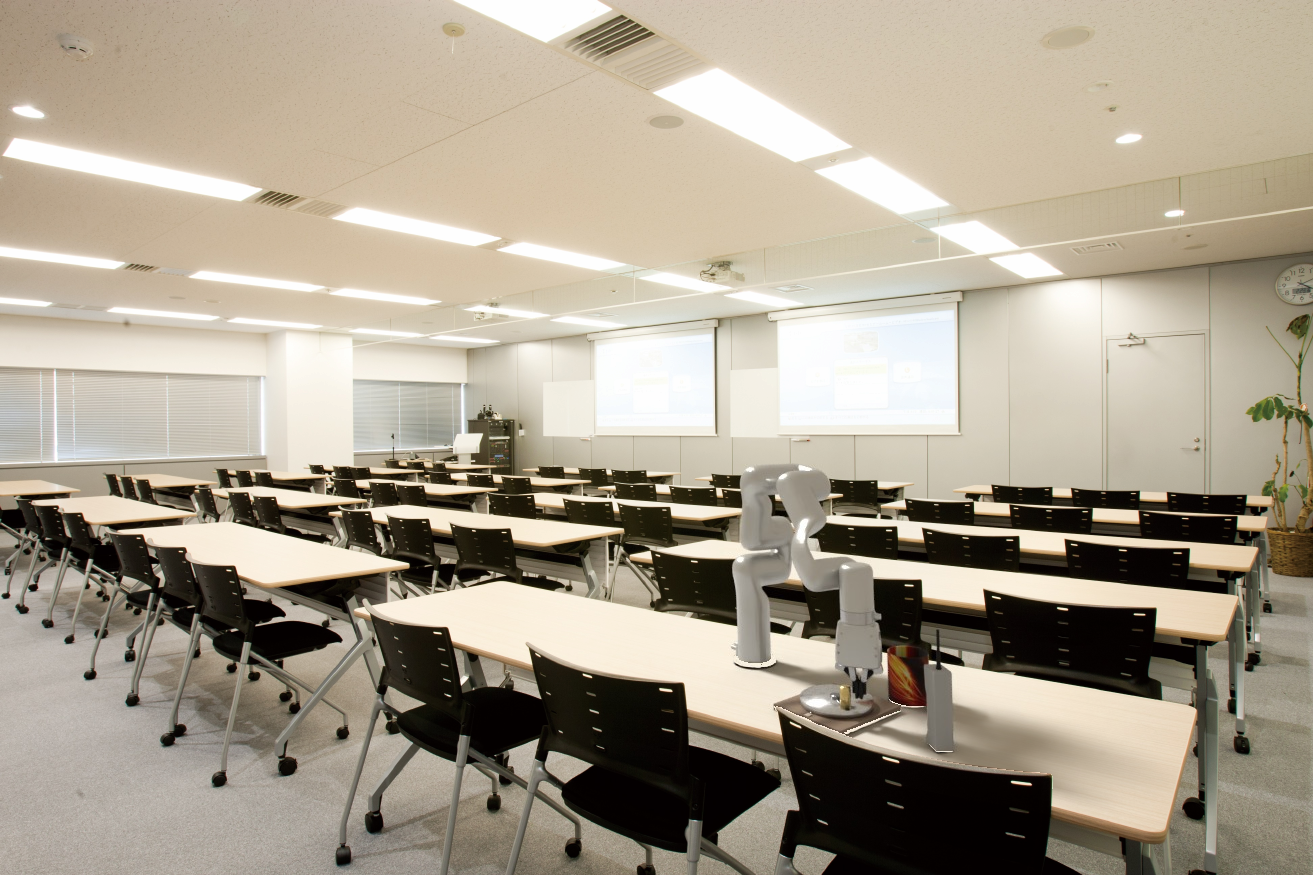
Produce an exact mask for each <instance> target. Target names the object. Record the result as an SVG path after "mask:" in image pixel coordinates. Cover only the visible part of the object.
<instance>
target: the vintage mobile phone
mask: <svg viewBox="0 0 1313 875" xmlns="http://www.w3.org/2000/svg"><path fill="white" fill-rule="evenodd" d="M935 632H936V633H935V634H936V635H935V639H936V643H935V644H936V653H935V655H936V658H935V659H936V660H935V662H936V663H932V664H931V663H929V664H925V665H924V676H925V689H926V694H927V706H926V721H927V724H926V725H927V728H926V729H927V730H926V735H925V742H926V744H927V743H928V744H930V745H931V746H932V747H933V748H934V749H935V750H936V751H954V752H955V750H954V749H955V744H954V742H955V741H954V738H955V737H954V706H953V705H954V704H953V673H952V671H951V670H949V669H948V668H946V666H944V665H943V664H941V663H942V660H941V657H942V656H941V647H940V646H941V643H940V642H941V641H940V629H935ZM928 744H927V745H928Z"/></svg>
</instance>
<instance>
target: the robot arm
mask: <svg viewBox="0 0 1313 875" xmlns="http://www.w3.org/2000/svg"><path fill="white" fill-rule="evenodd" d="M739 489H740V494H741V501H742V505H741V506H742V507H741V520H740V532H739V535H740V538H739V539H740V544H741V547H742V548H743V549H745V550H746V551H750V552H751V551H752V553H746V554H745V553H744V554H742V555H740V556H738V557H736V558H735V559H734V560H733V562H732V565H731V566H732V567H731V568H732V577H733V580H734V581H733V582H734V586H735V595H736V596H735V597H736V598H735V599H736V619H737V620H736V623H737V640H735V641H734V642H733V644H731V646H730V649H731V650H733V651H735V655H736V656H738V658H739V660H741V661H744V662H748V663H763V662H767V661H769V660H770V659H771V654H772V650H771V649H772V648H771V647H772V646H771V613H770V612H771V611H770V605H771V604H770V600H769V598H768V595H767V593H766V592H765V591H764V590H763V587H764V586H769V585H777V584H783V583H785V582H787V581H788V580H789V578H790V576H791V573H792V567H793V566H794V569H795V571H796V573H797V575H798V578H799V579H800V582H801V583H802V585H803V586H805V588H807V590H808V591H811V592H815V593H818V592H826V591H833V590H839V611H840V612H839V613H840V619H839V620H837V625H836V631H835V632H836V633H835V648H834V650H835V651H834V652H835V655H834V658H835V663H834V664H835V665H834V669H835V670H836V671H837V670H838V671H840V672H844V673H845V674H846V675H847V677H849V678H850V680H851V687H852V693H854V694H855V699H858V698H859V699H862V700H863V697H864V695H866V693H868V692H867V690H868V689H867V681H868V680H869V679H870V678H872V676H875V675H882V674H883V673H884V668H883V667H884V666H883V664H882V663H883V648H882V638H881V637H882V636H881V630H880V625H879V623H878V622H876V621H878V620H879V621H881V620H882V614H881V613H878V612H876V610H875V600H874V599H875V598H874V597H875V594H874V593H875V592H874V571H873V567H872V566H871V565H870V564H868V563H865V562H861V561H856V560H854V559H853V558H850V557H848V556H835V557H824V558H817V559H815V558H814V556H813V554H812V553H811V550H810V548H809V544H808V538H809V537H811V536H813V535H815V534H816V533H818V532H819V531H820V530H821V529H823V527H825V525H826V524H827V520H828V518H827V515H826V513H825V511H824V509H823V507H822V505H821V503H820V502H821V501H824V500H827V499H828V498H829V497H830V494H831V490H832V486H831V482H830V479H829V477H828V476H827V475H826V473H824V472H823V471H822V470H820V469H818V468H814V467H810V466H807V465H803V464H799V463H780V464H779V463H778V464H777V463H773V464H770V463H768V464H758V465H757V464H756V465H752V466H748V467H746V468H745V469H744V470H743V472H742V473H741V476H740V480H739ZM774 495H775V496H776V495H778V496H779V498H780V501H781V502H782V505H783V507H784V508H785V511H786V514H787V516H788V517H789V519H790V520H789V519H788V518H787V517H785V516H780V515H773V516H772V513H773V503H772V500H771V499H770V497H769V496H774ZM790 521H791V522H790ZM792 525H793V526H792ZM793 528H794V529H793ZM767 550H768V551H767ZM753 551H754V553H753ZM760 551H761V552H760ZM763 551H764V552H763ZM792 564H793V566H792ZM761 665H762V664H761ZM857 669H862V670H861V676H860V677H859V675H858V672H857Z"/></svg>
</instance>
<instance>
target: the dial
mask: <svg viewBox="0 0 1313 875" xmlns="http://www.w3.org/2000/svg"><path fill="white" fill-rule="evenodd" d="M799 694H800V704H801V706H802V707H803V708H804V709H806V710H807V711H809V712H811V713H814V714H817V715H820V716H825V717H831V718H856V717H861V716H864V715H867V714H869V713H871V712H872V711H873V709H874V700H873V697H872V696H873V695H872V696H871V694H870V693H868V692H867V693H866V695H864V697H863V700H862V699H859V698H858V699H855V694H854V693H852V686H851V685H849V684H840V685H827V684H820V685H813V686H810V687H807V688H804V689H803V690H802V691H801V692H800V693H799Z"/></svg>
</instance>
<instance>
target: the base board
mask: <svg viewBox="0 0 1313 875" xmlns="http://www.w3.org/2000/svg"><path fill="white" fill-rule="evenodd" d="M826 685H841V684H839V683H837V682H830V683H828V684H826ZM800 694H801V693H799V694H796V695H794V696H792V697H789V698H786V699H783V700H782V699H781V700H780V701H777V702H775V703H773V711H775V708H774V706H775V707H776V706H778V707H782V708H783V709H786V710H788V711H790V712H792V713H794V714H796V715H799V716H802V717H805V718H807V719H809V720H811V721H812V722H814V723H816V724H818V725H822V726H825V727H827V728H829V729H832V730H835V731H838V732H839V733H842V734H845V733H844V732H847V730H850V729H853V728H856V727H858V726H861V725H863V724H865V723H868V722H871V721H873V720H876V719H878V718H881V717H883V716H886V715H889V714H892V713H894V712H897V711H900V710H901V711H902V707H901V705H898V704H895V703H892V702H890V701H889V700H885V699H883V698H880V697H877V696H875V695H871V694H870V695H871V696H872V697H873V700H874V709H873V711H872V712H871V713H869V714H867V715H864V716H861V717H856V718H831V717H825V716H820V715H817V714H814V713H811V712H809V711H807V710H806V709H804V708H803V707H802V706H801V704H800ZM845 735H847V736H848V735H850V734H845Z"/></svg>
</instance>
